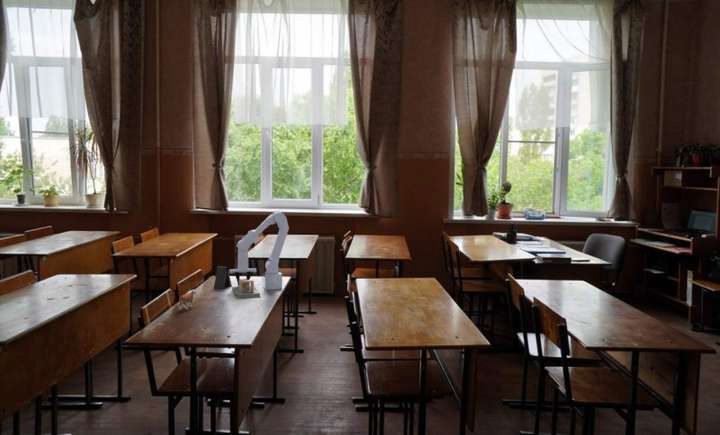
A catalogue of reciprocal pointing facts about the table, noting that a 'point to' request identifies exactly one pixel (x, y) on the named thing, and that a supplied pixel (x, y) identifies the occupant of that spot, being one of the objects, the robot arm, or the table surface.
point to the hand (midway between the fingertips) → (242, 285)
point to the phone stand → (222, 278)
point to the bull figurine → (187, 299)
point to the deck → (245, 292)
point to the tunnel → (246, 282)
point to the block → (245, 285)
